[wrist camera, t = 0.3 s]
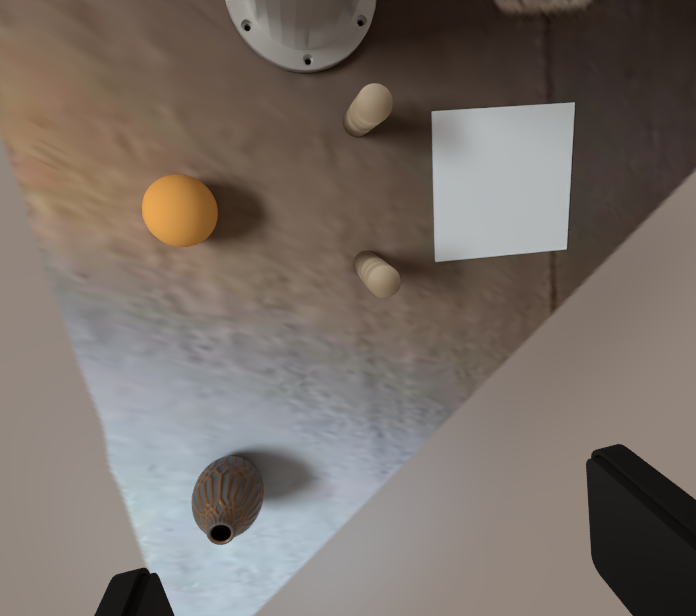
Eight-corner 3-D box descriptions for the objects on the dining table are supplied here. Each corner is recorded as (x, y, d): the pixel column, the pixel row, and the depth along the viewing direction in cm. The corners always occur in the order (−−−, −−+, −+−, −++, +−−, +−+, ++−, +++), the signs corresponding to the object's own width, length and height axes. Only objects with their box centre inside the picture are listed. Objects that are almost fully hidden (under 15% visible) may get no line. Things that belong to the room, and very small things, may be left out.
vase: (278, 477, 49) (275, 536, 40) (227, 512, 49) (215, 578, 41) (238, 433, 47) (226, 486, 39) (186, 470, 47) (163, 531, 39)
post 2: (352, 252, 43) (367, 267, 35) (378, 249, 44) (399, 264, 35) (354, 278, 44) (369, 299, 36) (379, 275, 44) (401, 296, 36)
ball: (148, 178, 40) (124, 176, 34) (217, 172, 40) (204, 170, 34) (160, 245, 41) (140, 254, 35) (227, 239, 42) (216, 247, 36)
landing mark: (431, 111, 41) (432, 111, 41) (573, 102, 42) (574, 102, 42) (434, 261, 45) (435, 262, 45) (565, 248, 46) (566, 249, 46)
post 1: (341, 107, 40) (355, 84, 31) (370, 105, 40) (391, 82, 32) (343, 137, 41) (358, 123, 32) (371, 136, 41) (393, 121, 32)
